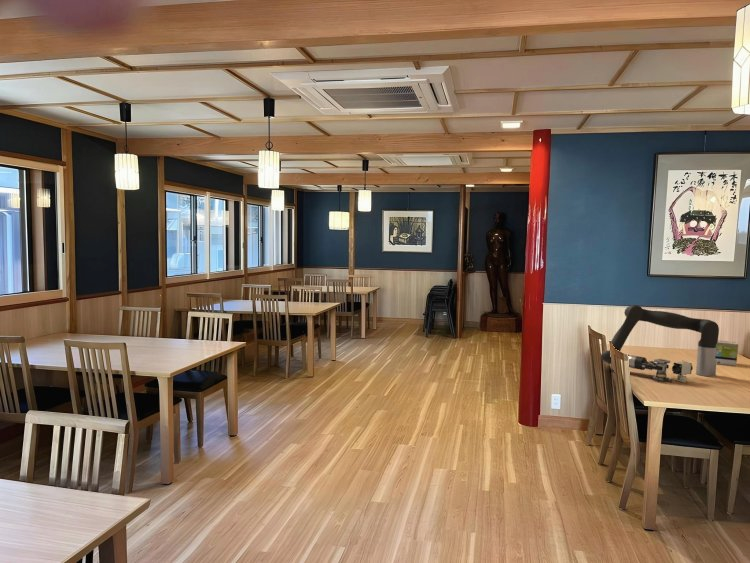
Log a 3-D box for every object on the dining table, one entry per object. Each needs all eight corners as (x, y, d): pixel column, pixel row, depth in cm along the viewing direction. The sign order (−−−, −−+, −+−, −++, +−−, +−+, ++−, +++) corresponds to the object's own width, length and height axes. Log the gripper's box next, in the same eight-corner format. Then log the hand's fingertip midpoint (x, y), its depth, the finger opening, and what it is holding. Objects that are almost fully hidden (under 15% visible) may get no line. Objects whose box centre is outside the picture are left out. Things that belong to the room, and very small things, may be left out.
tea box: (710, 363, 359) (711, 341, 357) (707, 360, 368) (708, 339, 367) (736, 366, 353) (738, 343, 352) (733, 363, 362) (734, 341, 361)
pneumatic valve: (692, 381, 308) (693, 361, 307) (678, 383, 303) (679, 362, 302) (683, 379, 313) (684, 359, 312) (669, 381, 308) (670, 360, 307)
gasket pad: (664, 378, 314) (664, 377, 314) (671, 381, 306) (671, 381, 306) (650, 378, 314) (650, 377, 314) (657, 381, 306) (657, 380, 306)
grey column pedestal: (658, 377, 314) (660, 358, 314) (669, 379, 309) (670, 360, 308) (652, 378, 311) (654, 359, 310) (662, 380, 306) (664, 361, 305)
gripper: (631, 357, 315) (660, 362, 303) (642, 354, 325) (670, 359, 313) (630, 370, 316) (659, 376, 304) (641, 367, 325) (669, 372, 313)
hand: (665, 367), depth 308 cm, fingers open, 8 cm apart
